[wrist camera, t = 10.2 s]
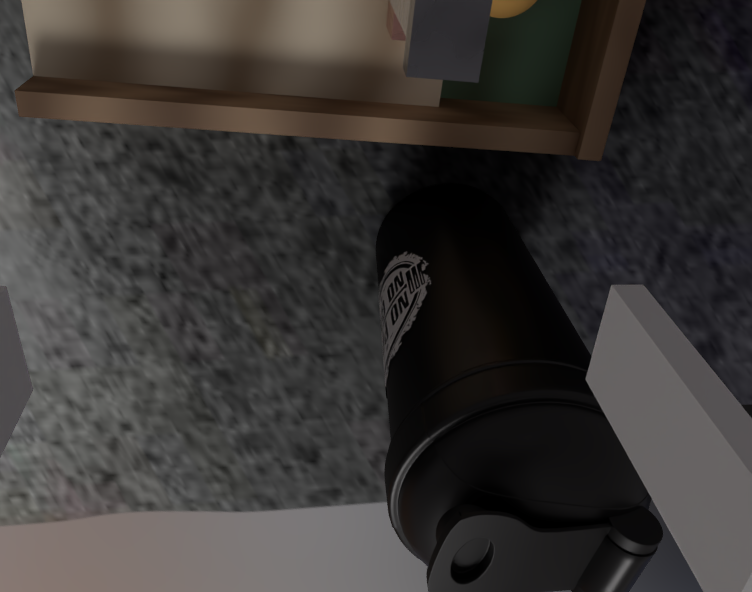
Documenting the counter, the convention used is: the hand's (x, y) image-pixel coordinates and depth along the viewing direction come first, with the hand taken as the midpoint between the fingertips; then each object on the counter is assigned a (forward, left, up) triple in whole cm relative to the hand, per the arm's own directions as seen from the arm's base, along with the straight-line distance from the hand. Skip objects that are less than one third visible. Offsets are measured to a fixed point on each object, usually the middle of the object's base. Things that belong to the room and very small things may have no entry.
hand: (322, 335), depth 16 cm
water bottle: (+8, -11, -25) cm, 28 cm away
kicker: (+4, +5, -22) cm, 23 cm away
